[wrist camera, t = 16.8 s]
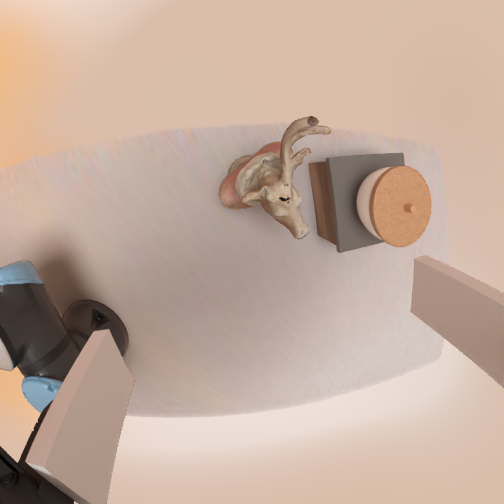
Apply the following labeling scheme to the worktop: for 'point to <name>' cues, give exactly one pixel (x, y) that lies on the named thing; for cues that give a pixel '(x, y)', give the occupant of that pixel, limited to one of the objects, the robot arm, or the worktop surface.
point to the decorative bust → (272, 178)
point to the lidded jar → (395, 205)
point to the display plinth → (345, 197)
